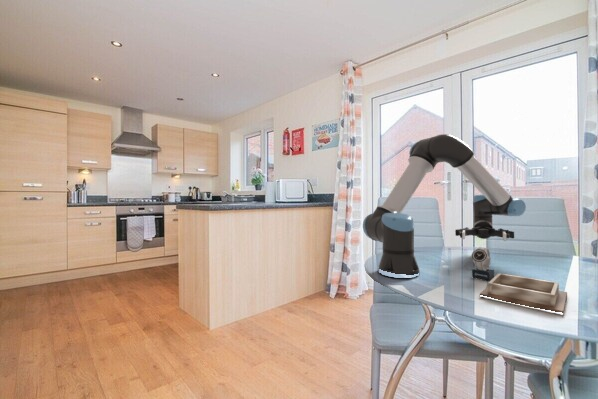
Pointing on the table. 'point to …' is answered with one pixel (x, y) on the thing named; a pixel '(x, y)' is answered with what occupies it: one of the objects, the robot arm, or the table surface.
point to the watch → (482, 264)
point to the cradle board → (526, 292)
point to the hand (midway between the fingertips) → (483, 236)
